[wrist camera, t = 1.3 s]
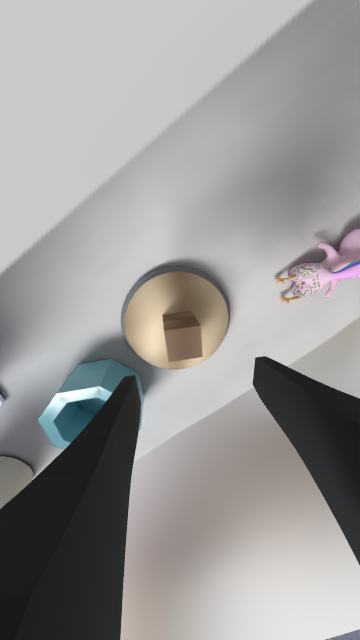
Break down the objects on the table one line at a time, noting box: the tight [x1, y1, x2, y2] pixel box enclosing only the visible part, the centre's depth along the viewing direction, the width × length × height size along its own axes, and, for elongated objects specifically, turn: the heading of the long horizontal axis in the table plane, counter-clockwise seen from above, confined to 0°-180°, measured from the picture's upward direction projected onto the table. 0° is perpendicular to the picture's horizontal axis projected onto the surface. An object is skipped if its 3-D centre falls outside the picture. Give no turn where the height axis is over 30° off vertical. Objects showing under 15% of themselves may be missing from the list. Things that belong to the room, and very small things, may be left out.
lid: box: [125, 272, 228, 369], centre depth 16 cm, size 11×11×5 cm
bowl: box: [38, 359, 144, 449], centre depth 19 cm, size 9×9×4 cm
